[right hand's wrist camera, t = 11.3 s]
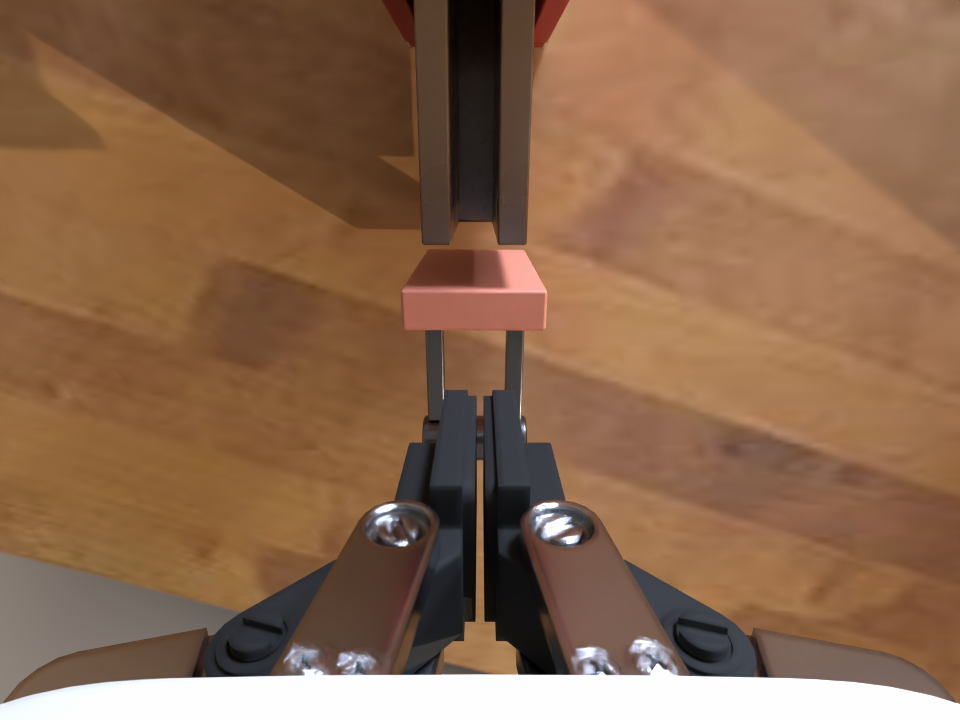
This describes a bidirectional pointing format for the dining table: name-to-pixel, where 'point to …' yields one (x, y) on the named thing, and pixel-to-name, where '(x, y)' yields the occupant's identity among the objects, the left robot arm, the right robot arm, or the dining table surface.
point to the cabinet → (547, 15)
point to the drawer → (473, 184)
